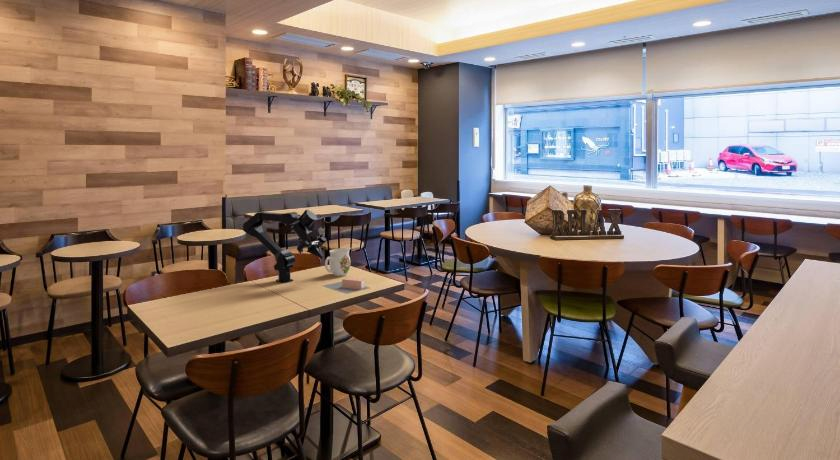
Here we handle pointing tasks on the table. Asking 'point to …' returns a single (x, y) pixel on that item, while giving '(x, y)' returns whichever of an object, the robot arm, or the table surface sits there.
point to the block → (353, 283)
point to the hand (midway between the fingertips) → (322, 257)
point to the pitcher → (338, 261)
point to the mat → (338, 287)
